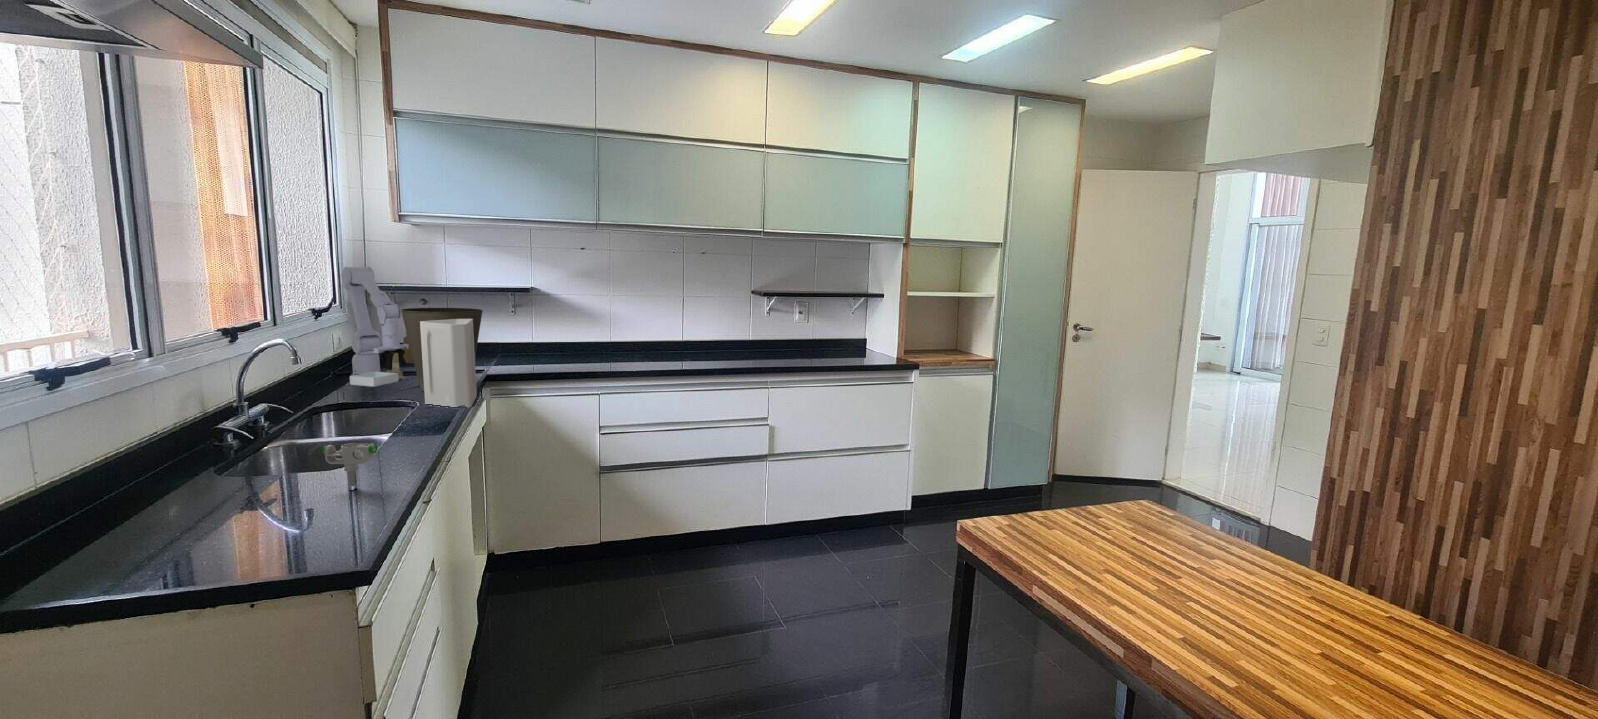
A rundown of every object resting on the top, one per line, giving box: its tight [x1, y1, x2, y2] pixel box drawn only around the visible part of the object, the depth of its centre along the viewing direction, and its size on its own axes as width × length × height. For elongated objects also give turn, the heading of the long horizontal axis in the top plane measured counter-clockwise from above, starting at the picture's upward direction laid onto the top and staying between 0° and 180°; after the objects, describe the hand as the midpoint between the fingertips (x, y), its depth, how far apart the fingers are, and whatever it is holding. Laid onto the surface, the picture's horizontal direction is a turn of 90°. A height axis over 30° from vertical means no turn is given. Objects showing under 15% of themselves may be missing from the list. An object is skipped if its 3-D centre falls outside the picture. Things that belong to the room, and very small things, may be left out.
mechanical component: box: [321, 442, 378, 486], centre depth 141 cm, size 3×10×10 cm, turn 95°
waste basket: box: [400, 307, 484, 392], centre depth 243 cm, size 27×20×30 cm
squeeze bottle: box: [402, 331, 414, 365], centre depth 297 cm, size 8×8×18 cm
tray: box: [349, 371, 400, 388], centre depth 248 cm, size 11×11×4 cm
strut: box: [386, 352, 404, 378], centre depth 258 cm, size 4×4×10 cm
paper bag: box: [420, 319, 477, 409], centre depth 222 cm, size 19×15×28 cm
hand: (393, 369), depth 259 cm, fingers closed on strut, 3 cm apart
